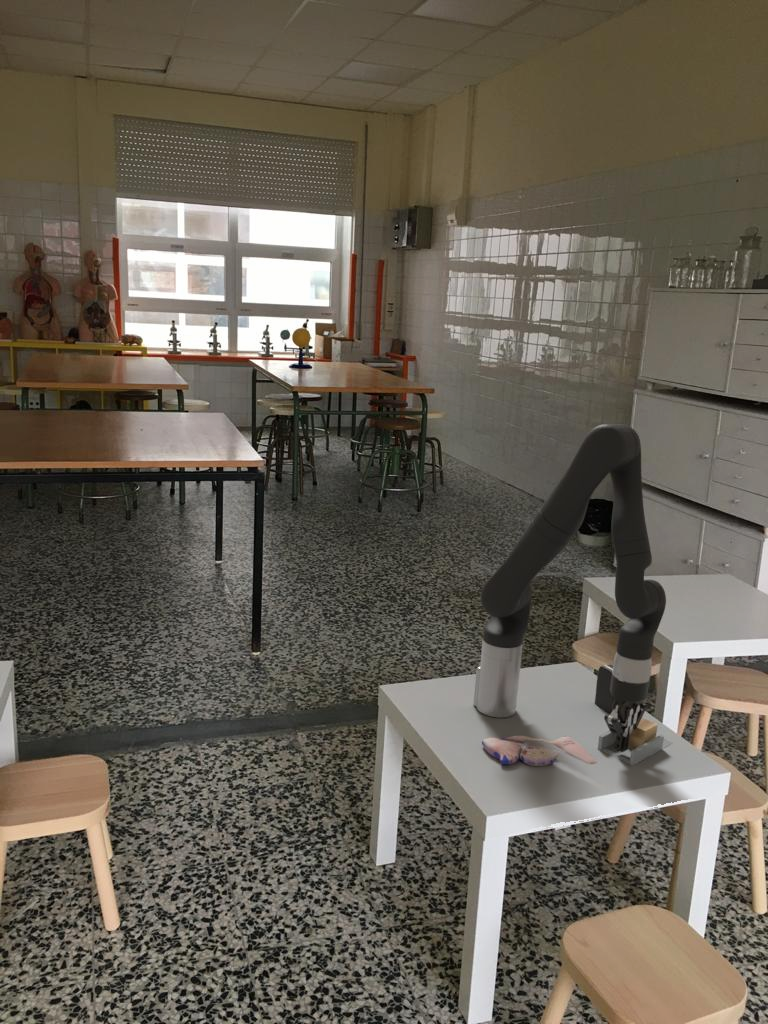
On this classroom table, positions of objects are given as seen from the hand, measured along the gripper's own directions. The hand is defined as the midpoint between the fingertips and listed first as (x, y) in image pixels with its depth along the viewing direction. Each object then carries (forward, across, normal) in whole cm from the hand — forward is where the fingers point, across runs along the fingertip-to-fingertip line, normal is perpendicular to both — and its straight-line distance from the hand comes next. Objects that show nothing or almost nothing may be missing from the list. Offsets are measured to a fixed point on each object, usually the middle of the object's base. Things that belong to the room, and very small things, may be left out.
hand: (620, 749), depth 179 cm
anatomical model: (+3, +14, -11) cm, 18 cm away
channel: (+2, -6, 0) cm, 6 cm away
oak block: (+1, -7, 0) cm, 7 cm away
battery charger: (+2, -17, -14) cm, 22 cm away
